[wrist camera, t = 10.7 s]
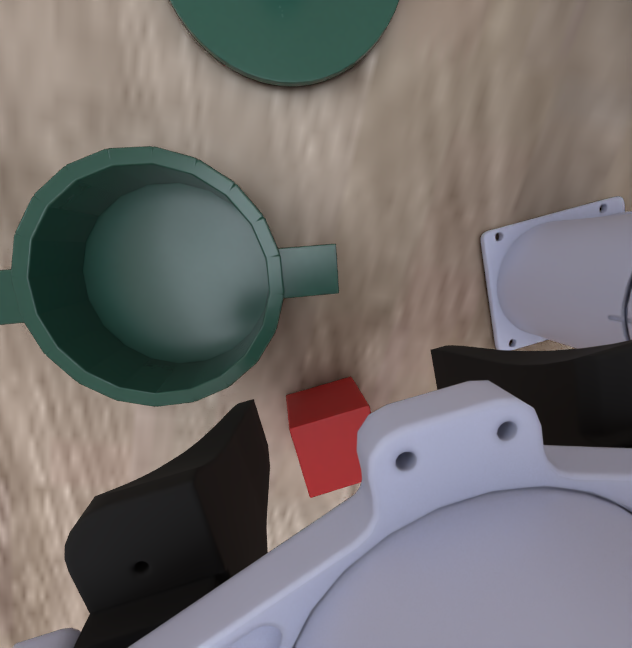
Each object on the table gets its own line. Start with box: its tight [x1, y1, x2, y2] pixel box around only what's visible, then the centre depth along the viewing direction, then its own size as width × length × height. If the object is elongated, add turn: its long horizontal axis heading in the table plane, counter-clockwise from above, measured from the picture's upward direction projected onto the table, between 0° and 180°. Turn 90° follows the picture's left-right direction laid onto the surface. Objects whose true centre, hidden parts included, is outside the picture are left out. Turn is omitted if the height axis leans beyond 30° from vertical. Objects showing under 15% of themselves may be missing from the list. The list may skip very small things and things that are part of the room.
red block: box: [286, 377, 371, 498], centre depth 21 cm, size 4×4×4 cm
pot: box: [0, 146, 339, 407], centre depth 18 cm, size 11×17×5 cm
